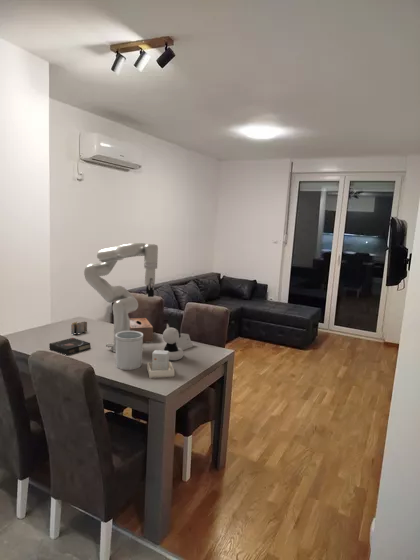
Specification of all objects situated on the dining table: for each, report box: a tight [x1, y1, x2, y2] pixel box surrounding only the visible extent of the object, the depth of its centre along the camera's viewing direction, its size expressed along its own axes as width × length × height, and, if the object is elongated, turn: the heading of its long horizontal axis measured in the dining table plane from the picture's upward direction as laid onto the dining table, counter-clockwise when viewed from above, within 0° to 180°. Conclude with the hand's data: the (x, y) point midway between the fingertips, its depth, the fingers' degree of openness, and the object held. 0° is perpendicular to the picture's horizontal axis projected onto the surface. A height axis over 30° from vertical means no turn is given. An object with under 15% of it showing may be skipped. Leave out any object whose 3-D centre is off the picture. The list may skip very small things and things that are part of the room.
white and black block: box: [176, 333, 194, 351], centre depth 237 cm, size 17×5×10 cm, turn 143°
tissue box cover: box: [129, 317, 154, 343], centre depth 257 cm, size 26×14×10 cm, turn 20°
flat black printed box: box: [48, 337, 92, 356], centre depth 224 cm, size 16×17×4 cm
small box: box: [151, 349, 170, 371], centre depth 194 cm, size 8×6×10 cm
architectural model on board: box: [70, 320, 88, 336], centre depth 257 cm, size 11×3×10 cm, turn 150°
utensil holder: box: [115, 331, 144, 371], centre depth 202 cm, size 15×15×18 cm
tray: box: [146, 361, 175, 379], centre depth 194 cm, size 13×13×4 cm
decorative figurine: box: [160, 323, 185, 362], centre depth 218 cm, size 15×15×20 cm
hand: (149, 295), depth 216 cm, fingers open, 9 cm apart
